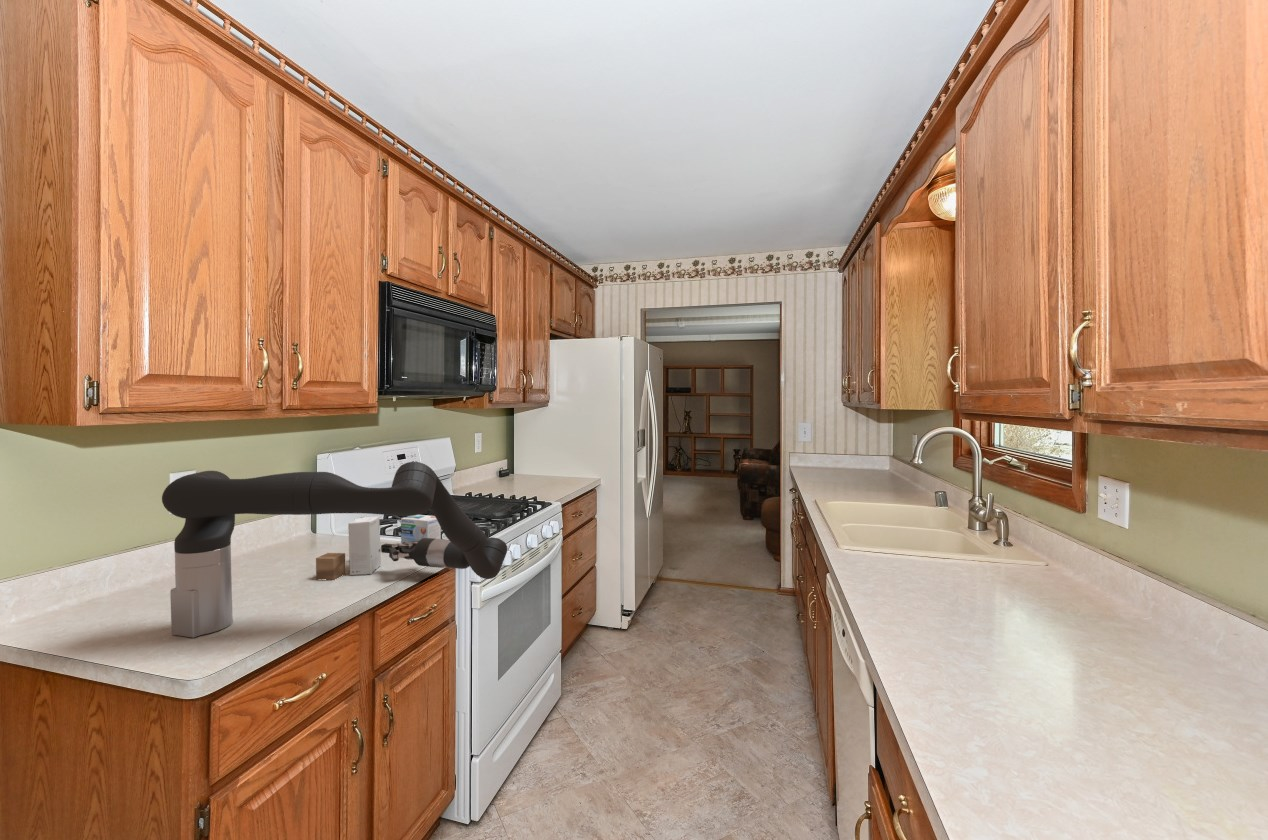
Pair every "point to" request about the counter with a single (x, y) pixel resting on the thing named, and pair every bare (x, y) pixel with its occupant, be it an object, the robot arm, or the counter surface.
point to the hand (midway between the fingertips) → (382, 547)
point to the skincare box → (364, 545)
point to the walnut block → (330, 566)
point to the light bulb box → (419, 528)
